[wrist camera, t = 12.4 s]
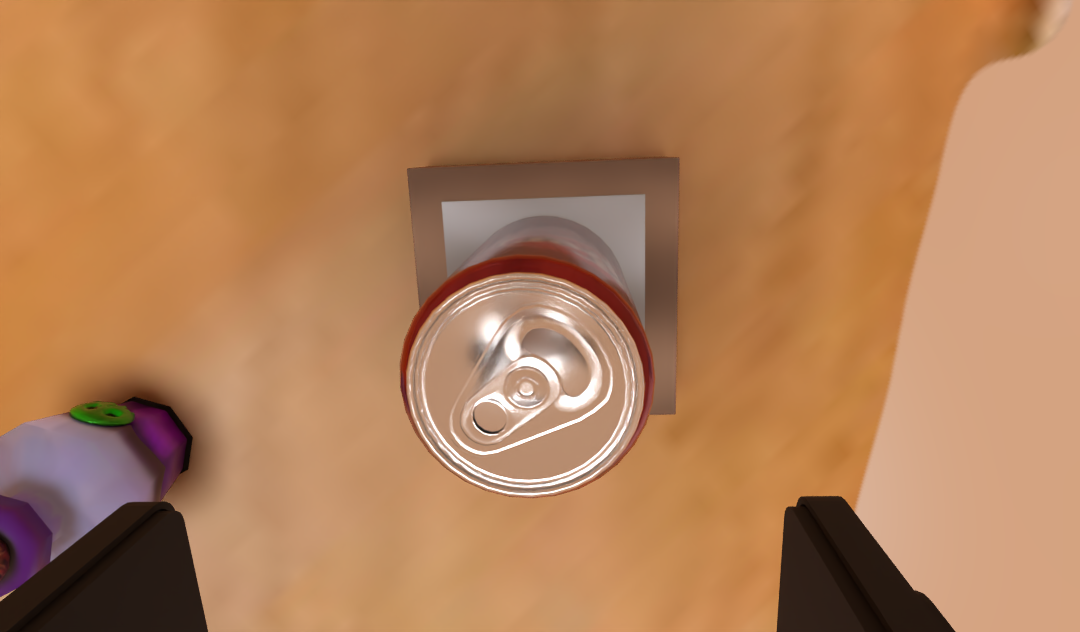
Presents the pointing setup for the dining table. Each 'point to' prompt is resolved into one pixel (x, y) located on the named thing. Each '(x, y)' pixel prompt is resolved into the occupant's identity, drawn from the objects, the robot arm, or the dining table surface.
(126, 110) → the dining table surface
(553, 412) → the soda can
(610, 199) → the pedestal
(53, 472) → the potion bottle
